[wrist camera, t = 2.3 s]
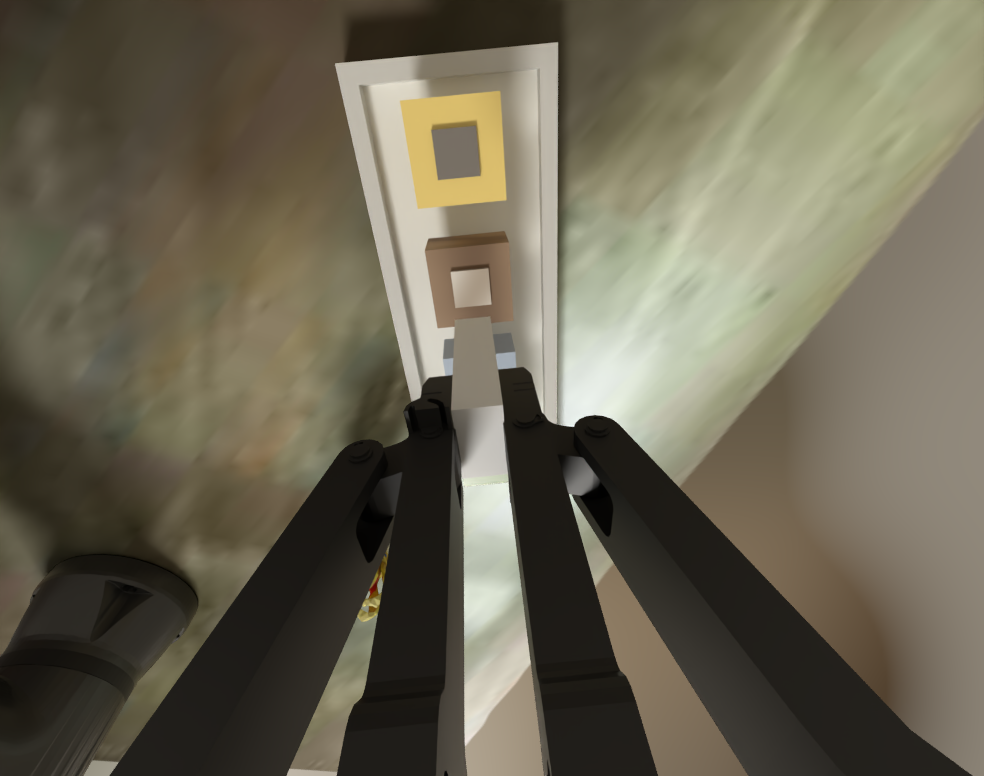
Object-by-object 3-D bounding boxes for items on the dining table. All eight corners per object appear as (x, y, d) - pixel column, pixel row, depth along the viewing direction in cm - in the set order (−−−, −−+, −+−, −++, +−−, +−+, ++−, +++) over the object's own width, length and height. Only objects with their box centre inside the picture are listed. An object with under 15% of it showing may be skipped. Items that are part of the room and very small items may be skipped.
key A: (422, 200, 25) (417, 209, 22) (406, 103, 22) (399, 100, 19) (502, 192, 25) (506, 200, 22) (496, 95, 22) (500, 90, 19)
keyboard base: (429, 458, 40) (427, 472, 38) (343, 68, 24) (335, 63, 22) (552, 445, 40) (556, 459, 38) (551, 48, 24) (558, 42, 22)
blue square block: (453, 394, 32) (452, 419, 30) (444, 339, 30) (442, 360, 27) (514, 388, 32) (519, 412, 30) (510, 332, 30) (515, 353, 27)
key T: (439, 310, 28) (437, 329, 26) (428, 238, 26) (424, 251, 23) (509, 303, 28) (513, 322, 26) (504, 230, 26) (509, 243, 23)
